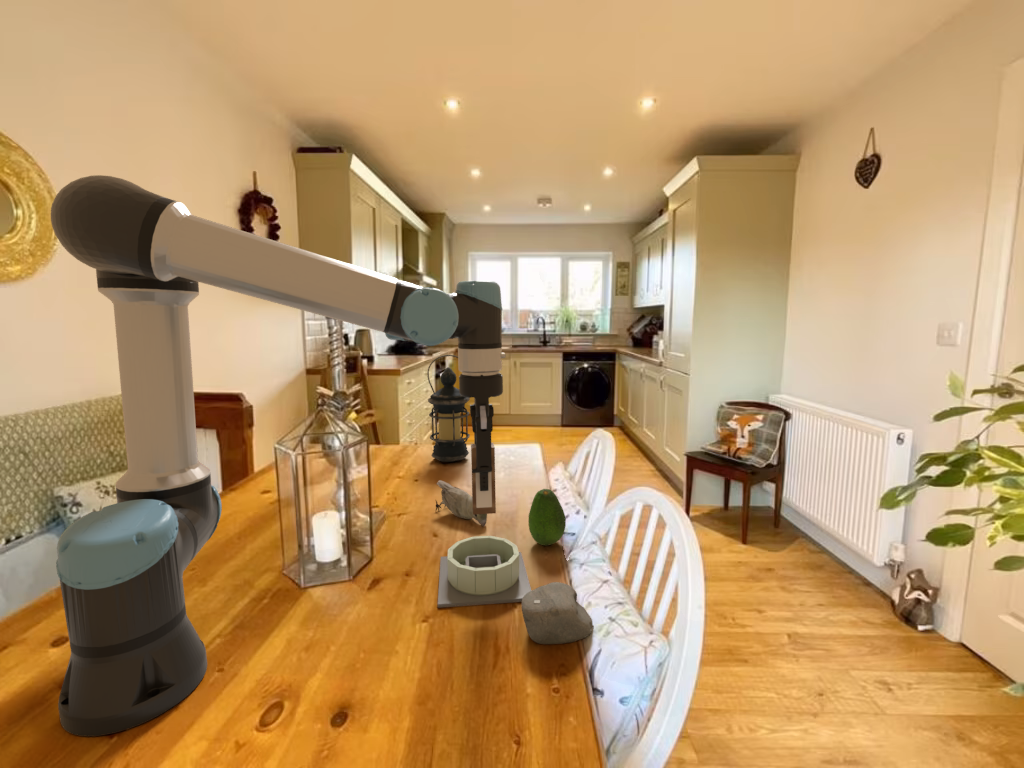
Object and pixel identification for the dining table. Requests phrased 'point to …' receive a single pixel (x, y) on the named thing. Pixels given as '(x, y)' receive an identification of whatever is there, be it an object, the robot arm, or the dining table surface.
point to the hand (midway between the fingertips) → (483, 502)
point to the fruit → (546, 518)
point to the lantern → (448, 419)
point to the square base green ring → (482, 573)
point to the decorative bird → (459, 503)
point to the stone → (555, 615)
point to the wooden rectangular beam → (473, 461)
